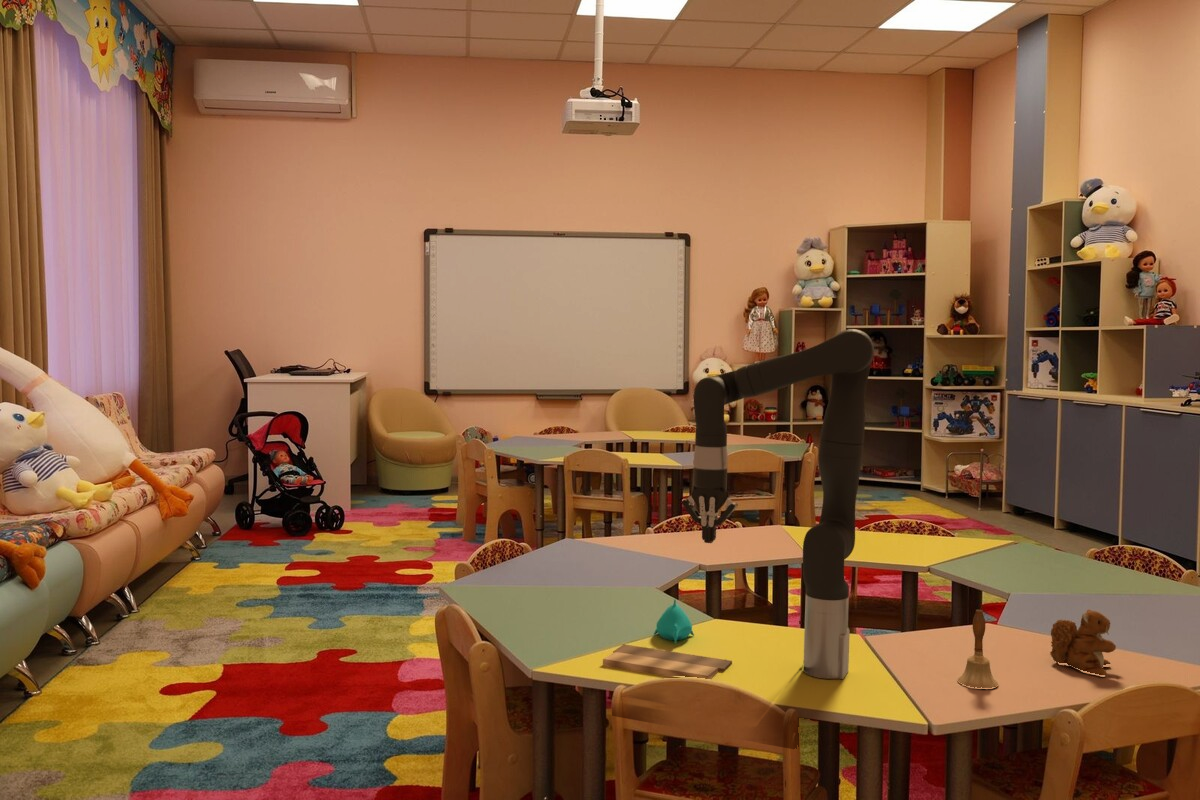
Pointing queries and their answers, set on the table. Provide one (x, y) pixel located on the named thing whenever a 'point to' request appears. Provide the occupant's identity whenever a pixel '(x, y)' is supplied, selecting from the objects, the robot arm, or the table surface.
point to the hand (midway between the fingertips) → (708, 542)
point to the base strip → (675, 656)
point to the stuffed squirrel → (1082, 642)
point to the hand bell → (978, 659)
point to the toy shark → (674, 624)
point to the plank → (658, 666)
